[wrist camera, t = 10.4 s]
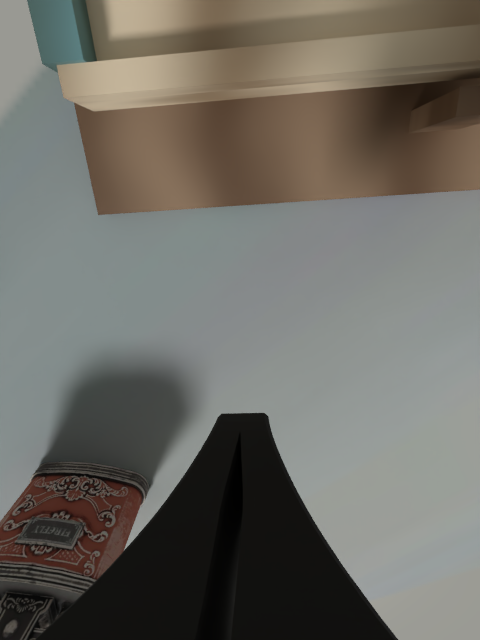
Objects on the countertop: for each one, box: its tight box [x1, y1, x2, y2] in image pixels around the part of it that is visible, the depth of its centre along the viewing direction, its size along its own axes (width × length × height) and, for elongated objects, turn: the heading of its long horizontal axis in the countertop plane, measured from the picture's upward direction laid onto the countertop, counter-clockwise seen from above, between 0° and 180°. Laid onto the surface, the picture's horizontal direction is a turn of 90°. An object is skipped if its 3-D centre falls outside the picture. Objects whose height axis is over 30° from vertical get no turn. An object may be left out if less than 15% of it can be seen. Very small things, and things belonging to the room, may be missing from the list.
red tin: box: [0, 462, 149, 640], centre depth 19 cm, size 8×3×10 cm, turn 85°
